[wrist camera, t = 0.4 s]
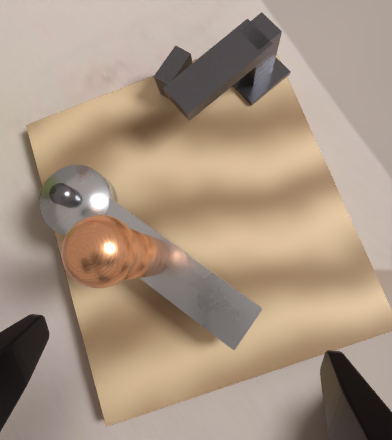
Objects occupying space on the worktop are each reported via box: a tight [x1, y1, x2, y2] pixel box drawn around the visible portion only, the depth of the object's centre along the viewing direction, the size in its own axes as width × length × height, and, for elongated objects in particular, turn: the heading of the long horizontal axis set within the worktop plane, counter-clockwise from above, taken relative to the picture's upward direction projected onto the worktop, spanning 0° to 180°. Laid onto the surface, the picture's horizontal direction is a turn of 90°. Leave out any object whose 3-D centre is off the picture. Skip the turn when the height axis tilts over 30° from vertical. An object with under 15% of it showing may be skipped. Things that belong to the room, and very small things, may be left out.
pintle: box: [49, 183, 80, 208], centre depth 22 cm, size 4×4×5 cm
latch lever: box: [39, 165, 262, 350], centre depth 17 cm, size 18×5×12 cm, turn 54°
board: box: [26, 54, 392, 427], centre depth 24 cm, size 25×22×1 cm
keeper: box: [154, 13, 290, 121], centre depth 23 cm, size 9×7×5 cm
